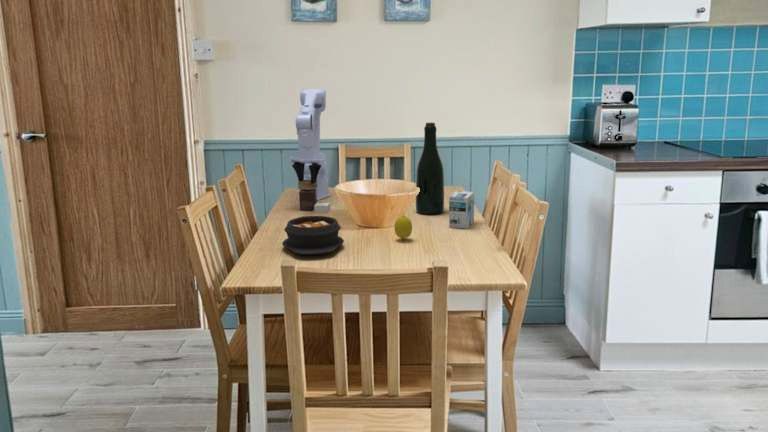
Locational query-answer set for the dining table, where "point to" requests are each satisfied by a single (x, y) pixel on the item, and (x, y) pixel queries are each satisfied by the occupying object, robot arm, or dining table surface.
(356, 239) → the dining table surface
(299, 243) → the casserole
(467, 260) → the dining table surface
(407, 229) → the lemon
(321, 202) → the tile
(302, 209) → the box
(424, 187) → the wine bottle
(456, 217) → the light bulb box
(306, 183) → the walnut block
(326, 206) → the grey block
